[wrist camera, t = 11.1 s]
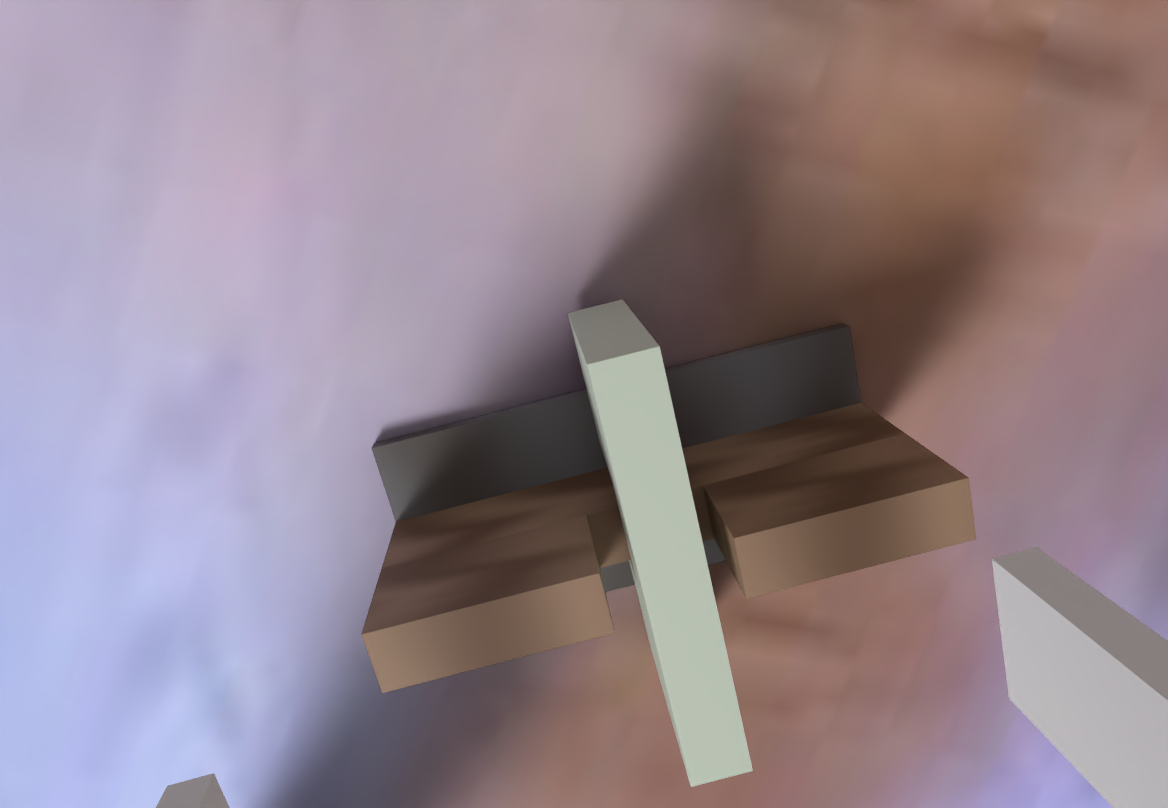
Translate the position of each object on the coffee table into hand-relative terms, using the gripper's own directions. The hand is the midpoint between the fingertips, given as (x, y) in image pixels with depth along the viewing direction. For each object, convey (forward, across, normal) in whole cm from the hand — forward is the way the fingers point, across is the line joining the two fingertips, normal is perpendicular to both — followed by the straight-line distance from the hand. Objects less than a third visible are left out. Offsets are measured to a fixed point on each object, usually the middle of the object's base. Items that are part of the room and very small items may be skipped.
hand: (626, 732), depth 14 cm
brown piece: (+19, +2, -4) cm, 19 cm away
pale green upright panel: (+18, +2, -3) cm, 19 cm away
